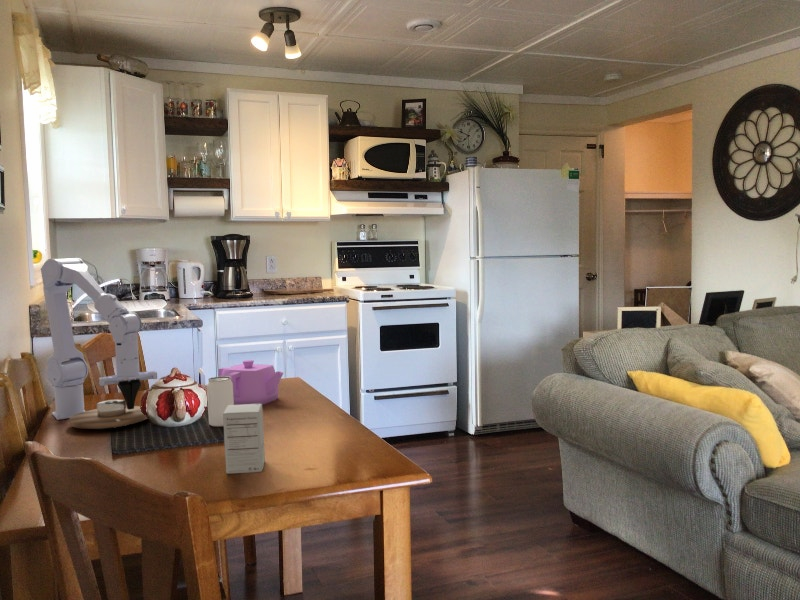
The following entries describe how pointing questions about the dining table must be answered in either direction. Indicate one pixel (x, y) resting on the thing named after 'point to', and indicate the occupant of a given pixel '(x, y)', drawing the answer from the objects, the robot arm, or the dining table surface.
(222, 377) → the can
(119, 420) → the turntable
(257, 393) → the teakettle
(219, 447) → the dining table surface
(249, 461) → the supplement box
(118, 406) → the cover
